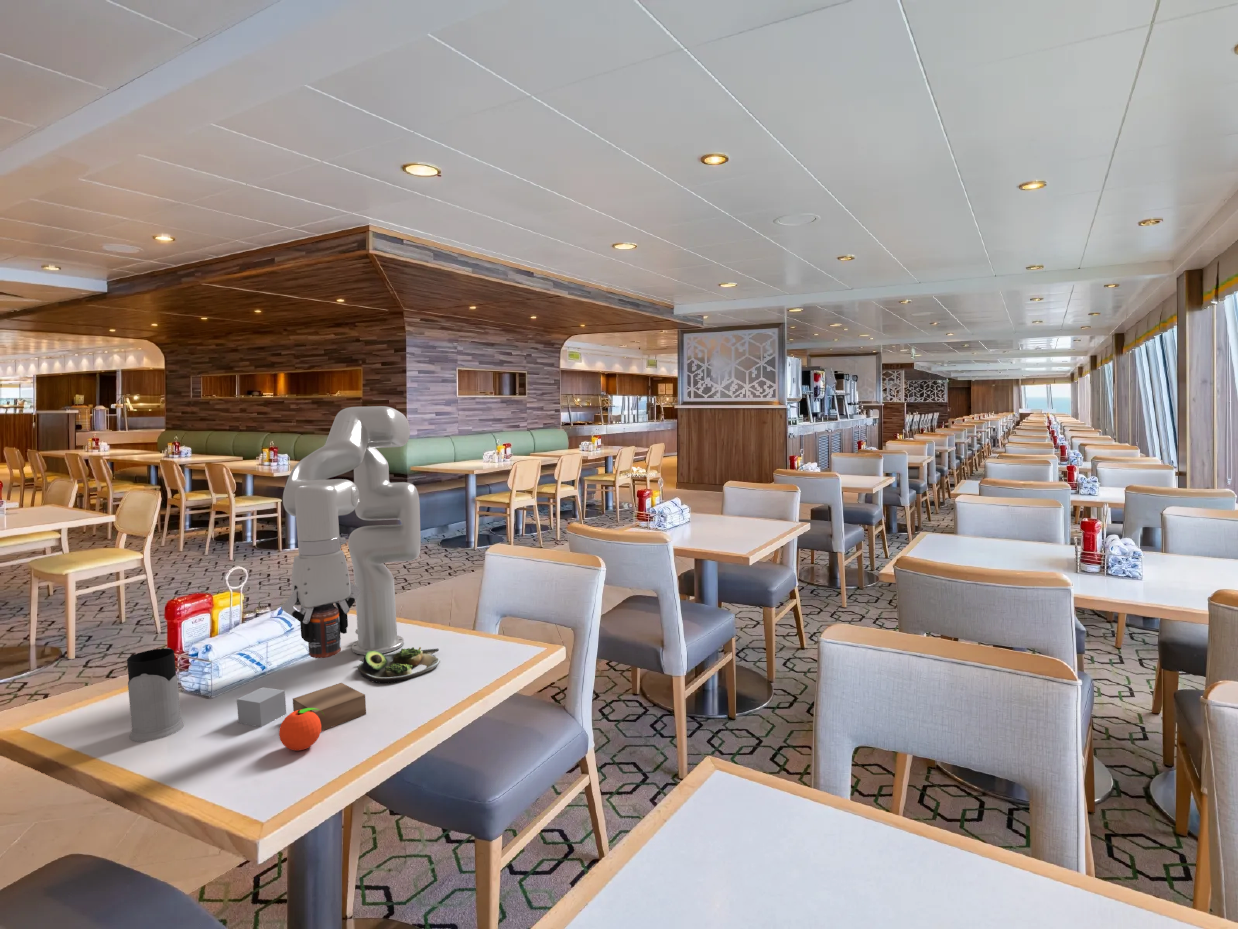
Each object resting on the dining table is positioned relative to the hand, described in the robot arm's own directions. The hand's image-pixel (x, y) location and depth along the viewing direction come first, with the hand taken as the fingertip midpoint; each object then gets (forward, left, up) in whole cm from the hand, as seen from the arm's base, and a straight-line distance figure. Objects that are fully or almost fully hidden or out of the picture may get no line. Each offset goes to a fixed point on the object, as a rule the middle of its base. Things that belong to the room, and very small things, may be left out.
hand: (325, 635), depth 135 cm
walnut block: (0, 0, -16) cm, 16 cm away
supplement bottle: (-1, 0, -4) cm, 4 cm away
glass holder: (-23, -23, -17) cm, 37 cm away
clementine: (+9, -9, -17) cm, 21 cm away
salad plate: (-12, +22, -17) cm, 30 cm away
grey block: (-10, -9, -17) cm, 21 cm away
